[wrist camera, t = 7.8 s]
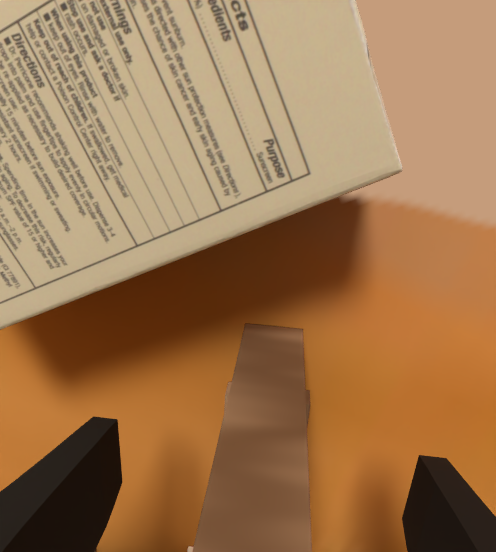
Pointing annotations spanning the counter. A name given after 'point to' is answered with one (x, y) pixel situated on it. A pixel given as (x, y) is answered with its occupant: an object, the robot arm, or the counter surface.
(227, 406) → the brown piece
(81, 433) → the robot arm
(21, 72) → the skincare box
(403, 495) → the counter surface
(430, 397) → the counter surface
